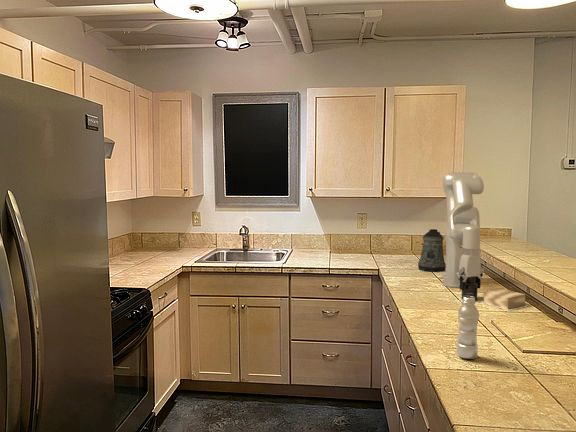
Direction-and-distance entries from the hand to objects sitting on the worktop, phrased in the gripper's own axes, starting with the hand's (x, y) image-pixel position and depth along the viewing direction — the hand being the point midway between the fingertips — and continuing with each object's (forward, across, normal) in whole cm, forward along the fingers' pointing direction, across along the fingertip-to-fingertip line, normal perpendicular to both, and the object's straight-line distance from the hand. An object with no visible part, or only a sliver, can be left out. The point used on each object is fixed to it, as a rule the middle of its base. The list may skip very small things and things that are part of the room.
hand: (470, 288), depth 211 cm
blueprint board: (+6, -8, +12) cm, 16 cm away
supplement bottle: (+6, 0, -1) cm, 6 cm away
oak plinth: (+5, -8, +12) cm, 15 cm away
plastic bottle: (+8, +54, +43) cm, 70 cm away
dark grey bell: (+4, -40, -62) cm, 74 cm away
